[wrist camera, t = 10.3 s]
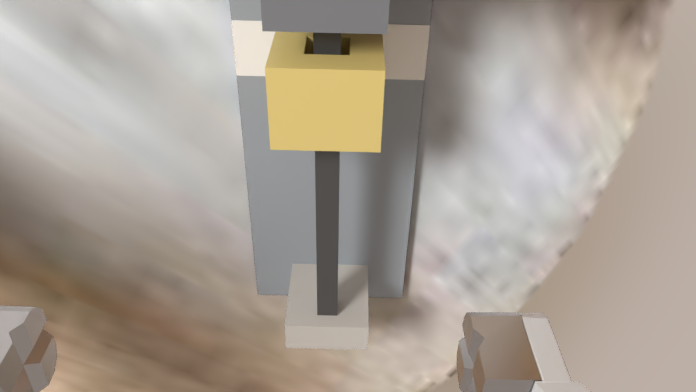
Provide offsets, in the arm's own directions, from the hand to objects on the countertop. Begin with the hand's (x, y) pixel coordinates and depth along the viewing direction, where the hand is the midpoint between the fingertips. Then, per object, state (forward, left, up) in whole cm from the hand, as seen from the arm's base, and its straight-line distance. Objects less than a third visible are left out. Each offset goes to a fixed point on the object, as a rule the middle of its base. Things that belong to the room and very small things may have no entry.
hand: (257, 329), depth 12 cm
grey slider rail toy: (+1, -9, -22) cm, 24 cm away
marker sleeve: (+1, -4, -20) cm, 21 cm away
